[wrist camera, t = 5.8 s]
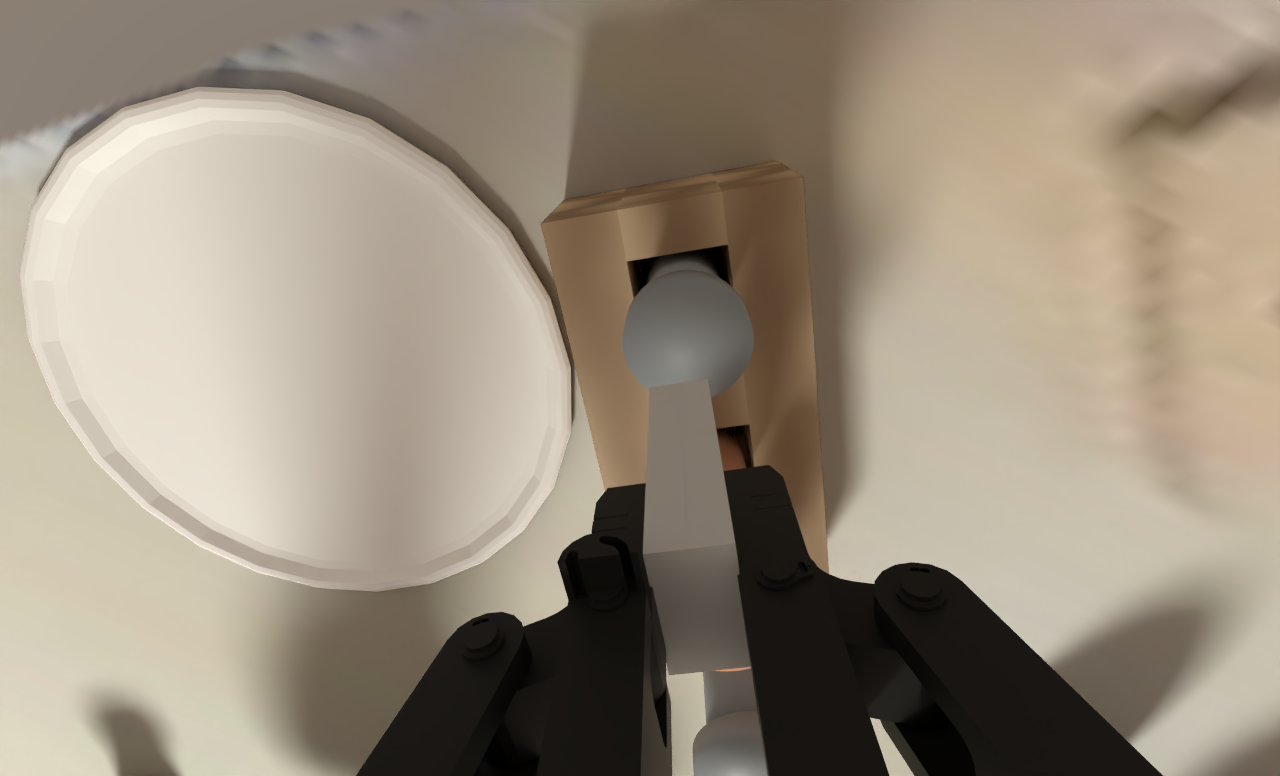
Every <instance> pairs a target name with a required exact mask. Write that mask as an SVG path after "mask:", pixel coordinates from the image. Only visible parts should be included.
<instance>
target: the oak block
mask: <svg viewBox="0 0 1280 776" xmlns="http://www.w3.org/2000/svg"><path fill="white" fill-rule="evenodd" d="M541 227H542V231H543V235H544V239H545V243H546V248H547V252H548V256H549V260H550V264H551V268H552V272H553V277H554V281H555V285H556V289H557V293H558V297H559V301H560V306H561V310H562V314H563V318H564V322H565V326H566V330H567V335H568V339H569V343H570V347H571V351H572V355H573V359H574V364H575V368H576V372H577V376H578V380H579V384H580V388H581V393H582V397H583V401H584V405H585V409H586V413H587V417H588V422H589V426H590V430H591V434H592V438H593V442H594V447H595V451H596V455H597V459H598V463H599V467H600V471H601V476H602V480H603V484H604V488H605V491H606V490H607V488H611V487H619V486H626V485H634V484H641V483H646V466H647V443H648V420H649V397H650V391H649V390H648V389H647V388H645V387H644V386H643V385H642V384H641V383H640V382H639V381H638V380H637V379H636V378H635V377H634V375H633V374H632V372H631V371H630V369H629V367H628V365H627V362H626V360H625V356H624V352H623V332H624V326H625V320H626V316H627V313H628V309H629V307H630V305H631V303H632V301H633V300H634V298H635V296H636V295H637V294H638V293H639V291H640V290H641V289H642V288H643V287H644V284H643V278H642V273H641V267H640V262H639V259H645V258H650V257H656V256H662V255H668V254H674V253H680V252H686V251H692V250H698V249H704V248H710V247H716V246H721V253H722V261H723V270H724V278H725V281H726V282H727V283H728V284H729V285H730V286H732V287H733V289H734V290H735V291H736V292H737V293H738V294H739V296H740V297H741V299H742V301H743V303H744V305H745V307H746V309H747V312H748V315H749V318H750V321H751V324H752V328H753V333H754V345H753V352H752V356H751V359H750V361H749V364H748V366H747V368H746V369H745V371H744V373H743V374H742V375H741V377H740V378H739V379H738V380H737V381H736V382H735V383H734V384H733V385H732V386H731V387H729V388H728V389H727V390H725V391H724V392H722V393H720V394H718V395H716V396H714V397H711V401H712V407H713V413H714V419H715V425H716V429H718V428H726V427H733V426H740V425H743V432H744V435H741V436H733V437H734V438H735V439H736V440H737V441H738V443H739V444H740V446H741V448H742V451H743V456H744V461H745V465H746V468H749V467H757V466H764V465H770V466H771V467H772V468H773V469H775V470H776V471H777V472H778V473H779V474H780V475H782V476H783V478H784V481H785V484H786V487H787V490H788V494H789V496H790V499H791V502H792V507H793V508H794V511H795V515H796V518H797V521H798V524H799V527H800V530H801V533H802V536H803V539H804V542H805V545H806V548H807V551H808V554H809V556H810V558H811V559H812V560H813V561H814V562H815V564H816V565H817V566H818V567H819V568H820V569H821V570H823V571H825V572H826V573H828V574H829V567H828V551H827V536H826V520H825V505H824V489H823V474H822V458H821V443H820V427H819V412H818V396H817V381H816V365H815V350H814V334H813V319H812V303H811V288H810V272H809V257H808V241H807V226H806V210H805V195H804V179H803V177H802V176H801V175H799V174H798V173H796V172H794V171H793V170H791V169H789V168H788V167H786V166H784V165H783V164H781V163H779V162H778V161H775V162H770V163H764V164H759V165H753V166H748V167H742V168H737V169H731V170H726V171H720V172H715V173H709V174H704V175H698V176H693V177H687V178H682V179H676V180H671V181H665V182H660V183H654V184H648V185H643V186H637V187H632V188H626V189H621V190H615V191H610V192H604V193H599V194H593V195H588V196H582V197H577V198H571V199H566V200H563V201H562V202H561V203H560V204H559V205H558V207H557V208H556V209H555V210H554V211H553V212H552V213H551V214H550V215H549V216H548V217H547V218H546V219H545V220H544V221H543V222H542V223H541Z"/></svg>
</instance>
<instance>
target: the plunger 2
mask: <svg viewBox="0 0 1280 776" xmlns="http://www.w3.org/2000/svg"><path fill="white" fill-rule="evenodd" d="M703 676H704V693H705V709H706V725H705V726H704V727H703V728H702V729H701V730H700V731H699V732H698V734H697V735H696V737H695V739H694V743H693V768H694V776H767V769H766V763H765V756H764V750H763V743H762V737H761V730H760V725H759V719H758V712H757V705H756V698H755V691H754V685H753V678H752V671H751V668H750V669H746V670H740V671H704V672H703Z"/></svg>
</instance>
